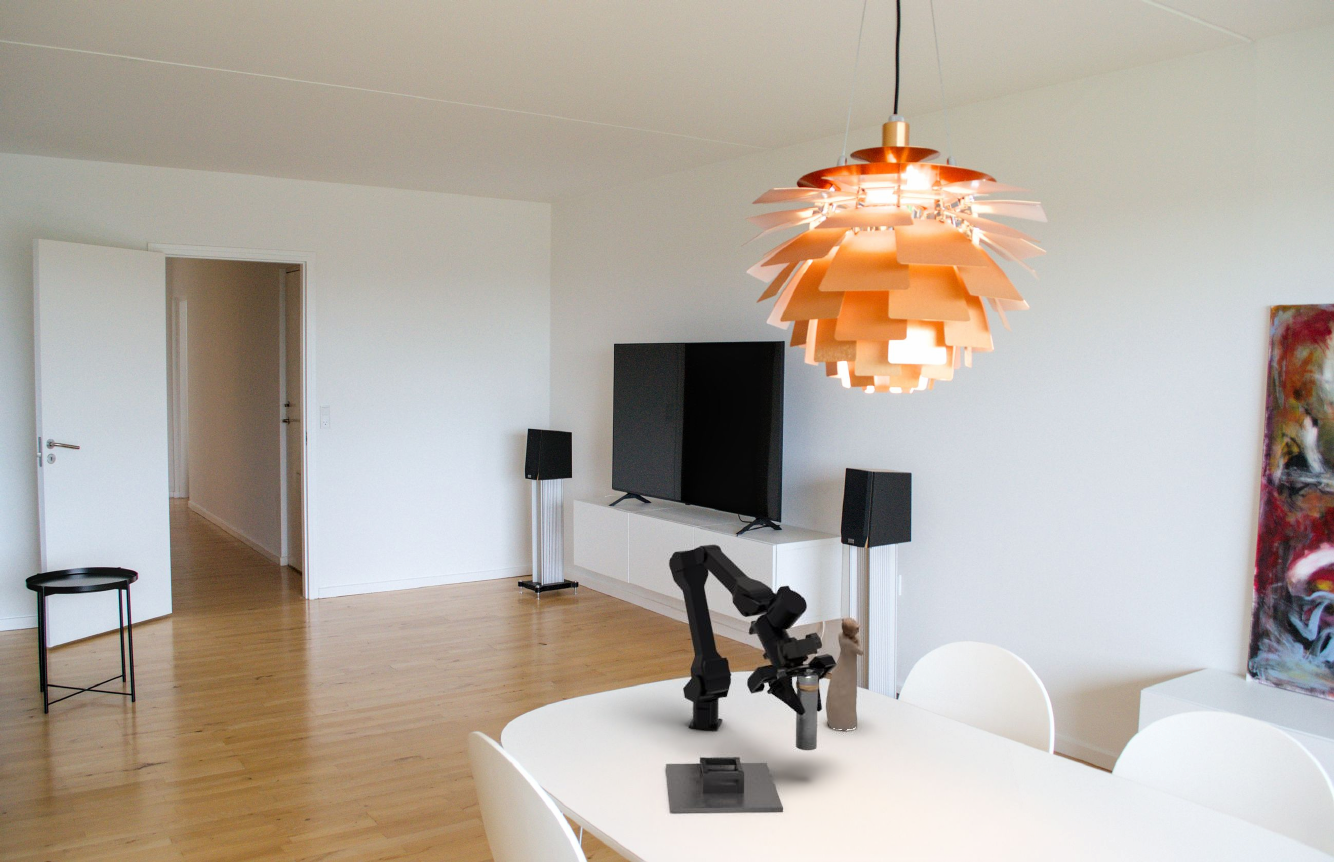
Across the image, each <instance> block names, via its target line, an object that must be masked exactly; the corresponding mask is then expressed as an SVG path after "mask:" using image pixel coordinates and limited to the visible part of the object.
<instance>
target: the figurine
mask: <svg viewBox="0 0 1334 862" xmlns="http://www.w3.org/2000/svg"><path fill="white" fill-rule="evenodd" d="M840 625H841V630H840V631H839V633H838V635H837V638H838V639H837V640H838V645H839V647H840V651H839V655H838V658H837V660H836V661H835V662H836V664H837V665H836V666H835V667H834V668H833V669H832V670H831V674H830V679H829V683H828V687H827V693H826V700H825V712H826V717H827V725H828V724H829V726H830V727H832V728H835V729H842V730H847V729H853V728H855V727H856V726H857V727H858V715H857V714H858V713H857V703H858V702H857V699H858V698H857V695H858V655H859V656H861V657H862V656H863V655H864V646H863V645H862V641H861V638H860V636H859V634H858V633H859V632H860V627H861V626H860V624H859V622H857V620H856V619H854V618H853V617H846V618H843V617H842V618H841V624H840ZM829 726H828V727H829ZM830 727H829V728H830ZM832 728H831V729H832Z"/></svg>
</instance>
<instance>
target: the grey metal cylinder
mask: <svg viewBox="0 0 1334 862" xmlns="http://www.w3.org/2000/svg"><path fill="white" fill-rule="evenodd" d="M795 689H796V694H797V696H798V698H799V700H800V702H801V705H802V707H803V710H804V714H803V715H802V716H800V715H799V714H798V713H797V712H795V714H796V715H795V747H796V749H799V750H801V751H814V750H817V746H818V711H817V703H818V689H819V690H820V682H819V683H818V675H817V674H816V673H812V672H800V673H798V674H797V677H796V681H795Z"/></svg>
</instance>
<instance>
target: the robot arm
mask: <svg viewBox="0 0 1334 862" xmlns="http://www.w3.org/2000/svg"><path fill="white" fill-rule="evenodd" d="M668 566H669V569H670V572H671V576H672V579H673V581H674V583H675V584H676V586H677V587H679V589H680V590H681V591H682V595H683V599H684V604H685V605H684V606H685V609H686V615H687V620H688V625H689V626H688V627H689V631H690V637H691V642H692V648H693V652H694V658H693V660H692V664H691V665H690V670H689V671H690V680H688V682H687V683H686V684H685V686H684V687H683V688H682V689H683V690H682V691H683V696H684V698H685V699H686V700H687V701H690V702H691V703H692V719H691V721H690V723H689V724H688V726H687V727H688V728H689V729H696V730H697V729H698V730H707V731H718V729H719V728H720V727H721V725H722V723H723V719H722V718H719V701H720V699H722V698H727V697H728V694H729V691H730V687H731V684H732V673H731V671H730V665H729V663H730V662H729V659H728V658H727V657H726V656H724V657H722V655H721V654H720V653H719V652H718V650H717V646H716V645H717V644H716V640H715V636H714V635H715V634H714V629H713V625H712V620H711V615H710V610H709V604H708V599H707V595H706V588H705V587H706V583H707V580H708V577H709V573H711V574H712V575H713V577H715V579H716V580H718V582H720V584H722V586H724V587H725V589H726V590H727V591H729V593H730V594H731V596H732V597H731V599H732V604H733V605H734V607H735V609H736V610H737V612H739V614H740V615H741V616H743V617H745V618H748V617H754V616H758V617H757V619H756V620H751V621H750V626H749V628H748V635H750V636H751V635H757V637H758V639H759V641H760V644H761V646H762V648H763V649H764V653H763V654H762V657H763V659H764V660H769V663H770V664H767V665H762V666H758V667H756V669H755V670H753V672H752V673H751V674H750V675H749V677H748V678H747V683H746V685H747V688H748V690H749V692H750V693H751V694H756V693H761V692H763V691H764V689H765V687H766V683H767V684H768V687H769V688H768V690H766V693H767V694H768V695H772V696H773V697H776V698H777V699H778V700H780V701H781V702H783V703H784V704H785V705H787V706H788V707H789V708H791V710H793V711H794V712H795V713H796V712H797V713H798V714H799V715H800V716H802V715H803V714H804V710H803V707H802V705H801V702H800V700H799V698H798V696H797V691H796V690H795V688H794V686H793V678H797V674H798V673H800V672H812V673H816V674H817V675H818V683H819V684H820V680H824V678H826V677H827V676H828V674H830V673H831V672H832V671H833V669H834V667H835V666H836V665H837V664H836V662H837V661H836V660H835V658H834V657H833V655H831V654H829V653H825V654H821V655H816V654H818V653H819V651H818V650H820V649H822V647H823V644H822V639H821V637H820V636H819V634H818V632H812V633H809V634H806V635H805V636H804V638H801V639H797V638H796V637H794V636H793V637H790V635H789V633H788V631H787V630H789V629H790V628H792V627H793V626H794V625H795V623H796V622H797V621H798V620H799V619H800V618H801V617H802V616H803V615H804V613H805V612H806V611H807V609H808V604H807V601H806V599H805V598H804V597H803V596H802V595H801V594H800V593H799V592H797V591H795V590H793V589H791V587H790V586H789V585H783V586H780V587H779V588H778V590H777V591H776V592H774V591H773V589H772V588H771V587H769V586H768V585H766V584H765V583H764V582H762V581H760V580H757V579H753V578H751V577H749V576H748V575H747V574H745V572H744V571H742V569H741V568H739V567H738V566H737V565H736V564H735V563H734V562H733V561H732V559H730V557H728V556H727V555H726V554H725V553H724V552H723V551H722V548H721V546H719V545H717V544H704V545H700V546H698V547H696V548H694V549H689V550H688V549H687V550H681V551H674V552H673V553H672V555H671V557H670V558H669V560H668ZM811 655H816V656H813V658H812V659H811V660H810V661H809V662H808V663H807V664H804V663H805V662H807V661H808V660H809V656H811ZM821 710H823V706H822V698H821V691H820V688H819V689H818V703H817V713H819V712H821Z"/></svg>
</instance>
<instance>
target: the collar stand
mask: <svg viewBox="0 0 1334 862" xmlns="http://www.w3.org/2000/svg"><path fill="white" fill-rule="evenodd" d="M665 771H666V779H667V790H668V799H669V808H670V814H685V813H686V814H690V813H691V814H693V813H694V814H695V813H698V814H699V813H702V814H703V813H704V814H705V813H707V814H708V813H709V814H711V813H779V812H780V813H782V812H784V806H783V803H782V801H781V798H780V796H779V793H778V790H777V788H776V785H775V782H774V779H773V776H772V775H771V772H770V769H769V765H768V763H767V762H742V763H741V757H739V756H733V757H731V756H730V757H726V756H725V757H717V756H716V757H701V756H700V757H699V763H666V764H665Z"/></svg>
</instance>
